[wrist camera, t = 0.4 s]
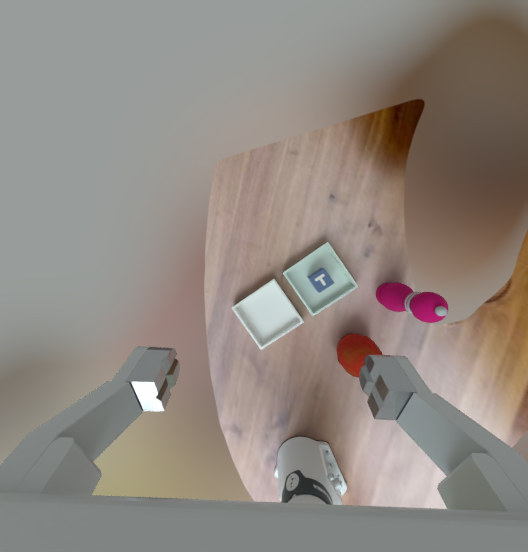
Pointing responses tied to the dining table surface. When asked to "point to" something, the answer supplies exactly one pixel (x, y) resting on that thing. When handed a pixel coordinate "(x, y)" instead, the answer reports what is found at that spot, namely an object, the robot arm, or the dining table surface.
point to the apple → (355, 352)
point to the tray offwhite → (267, 314)
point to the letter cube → (320, 279)
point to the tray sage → (312, 263)
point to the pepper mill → (412, 302)
